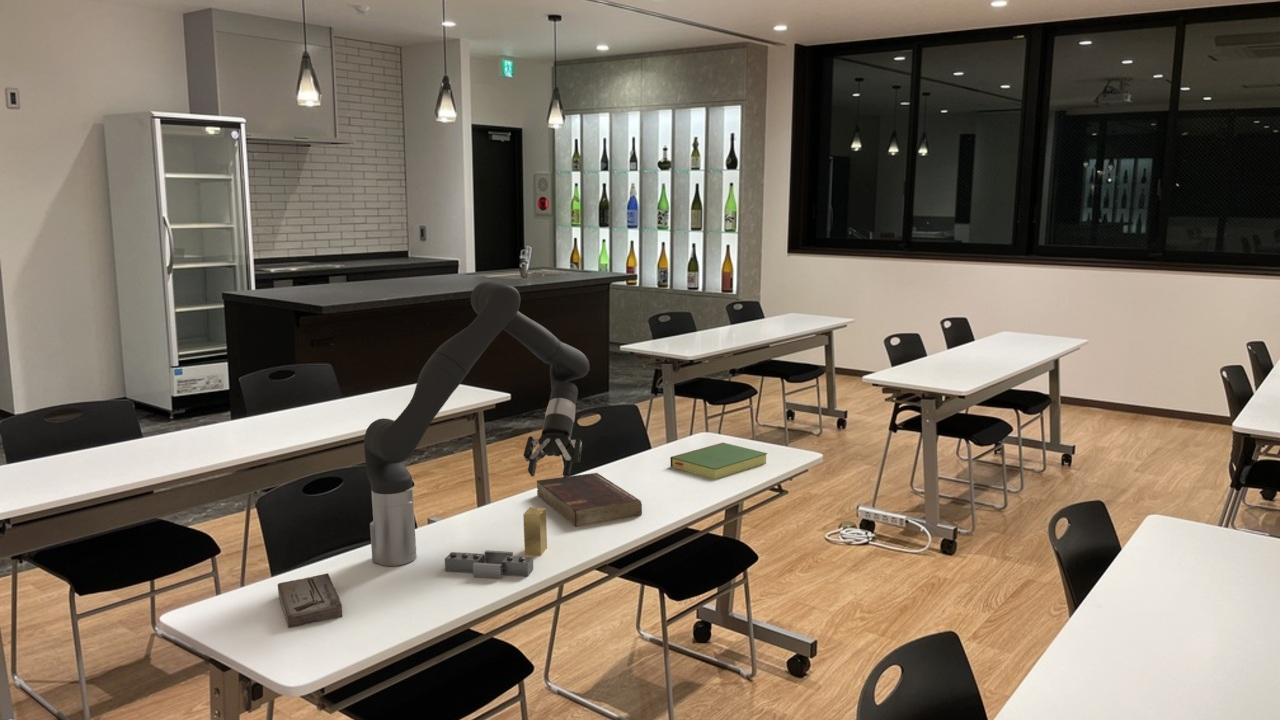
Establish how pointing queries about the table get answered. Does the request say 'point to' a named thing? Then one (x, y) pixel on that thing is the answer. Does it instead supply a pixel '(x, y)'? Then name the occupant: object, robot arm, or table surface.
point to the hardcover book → (718, 460)
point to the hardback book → (588, 499)
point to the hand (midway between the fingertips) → (548, 475)
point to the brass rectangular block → (535, 531)
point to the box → (309, 600)
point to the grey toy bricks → (489, 564)
